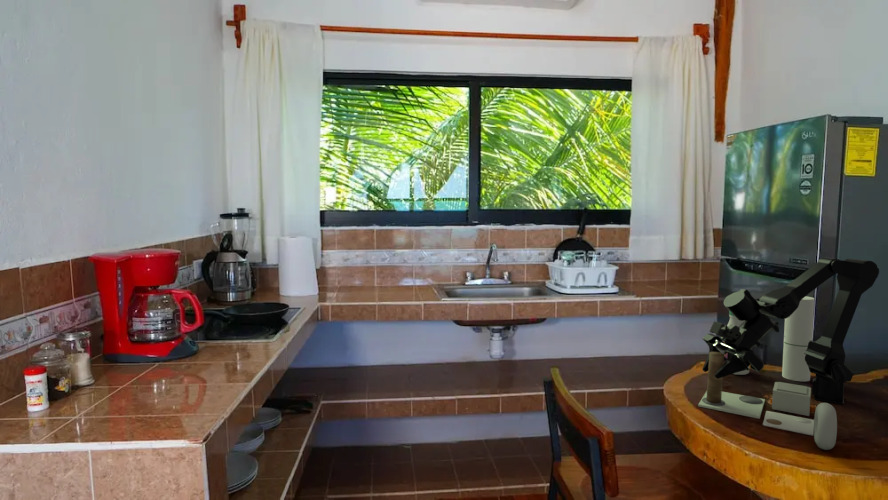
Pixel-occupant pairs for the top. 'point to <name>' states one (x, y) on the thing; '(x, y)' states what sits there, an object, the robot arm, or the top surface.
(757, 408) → the board
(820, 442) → the donut
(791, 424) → the card
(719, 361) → the pin
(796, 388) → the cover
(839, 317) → the robot arm
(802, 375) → the cylindrical container
